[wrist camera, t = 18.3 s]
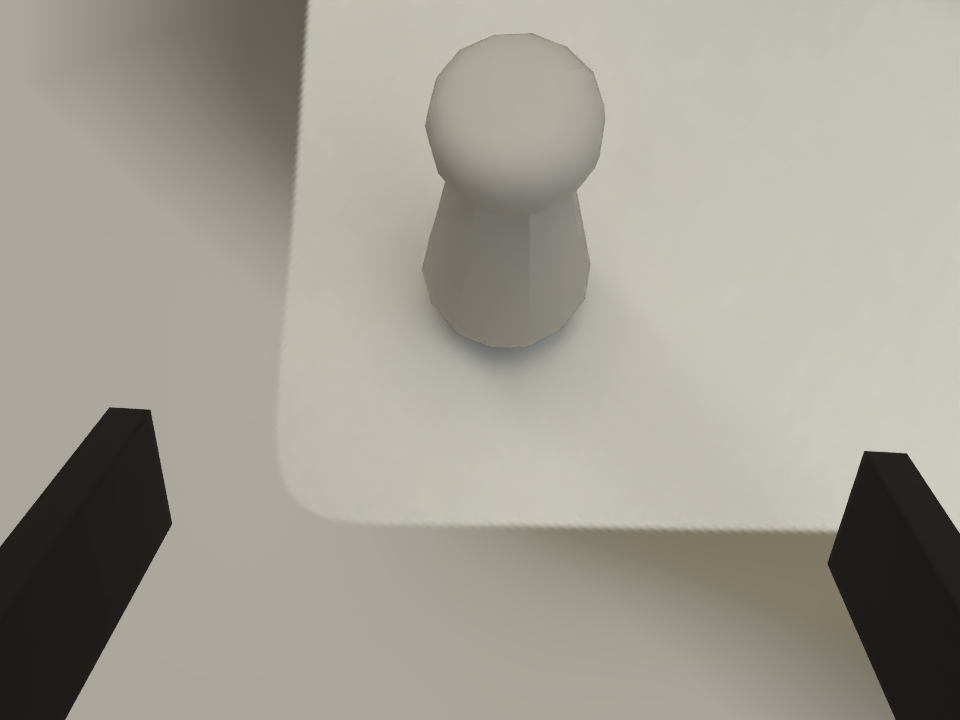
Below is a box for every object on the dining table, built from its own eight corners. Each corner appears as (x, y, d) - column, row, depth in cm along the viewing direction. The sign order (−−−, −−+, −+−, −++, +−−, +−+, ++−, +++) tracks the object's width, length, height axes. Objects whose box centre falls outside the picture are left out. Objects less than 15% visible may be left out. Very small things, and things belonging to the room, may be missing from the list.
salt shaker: (566, 378, 31) (622, 236, 18) (414, 349, 31) (364, 190, 19) (592, 232, 32) (660, 8, 20) (446, 206, 33) (420, -31, 20)
